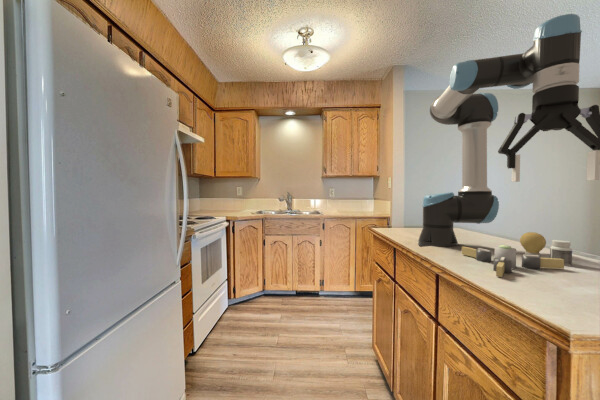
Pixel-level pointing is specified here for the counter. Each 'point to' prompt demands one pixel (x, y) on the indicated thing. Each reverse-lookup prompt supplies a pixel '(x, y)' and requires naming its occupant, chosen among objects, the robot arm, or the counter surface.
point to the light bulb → (532, 243)
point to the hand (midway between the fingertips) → (552, 181)
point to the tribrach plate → (506, 253)
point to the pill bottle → (561, 251)
